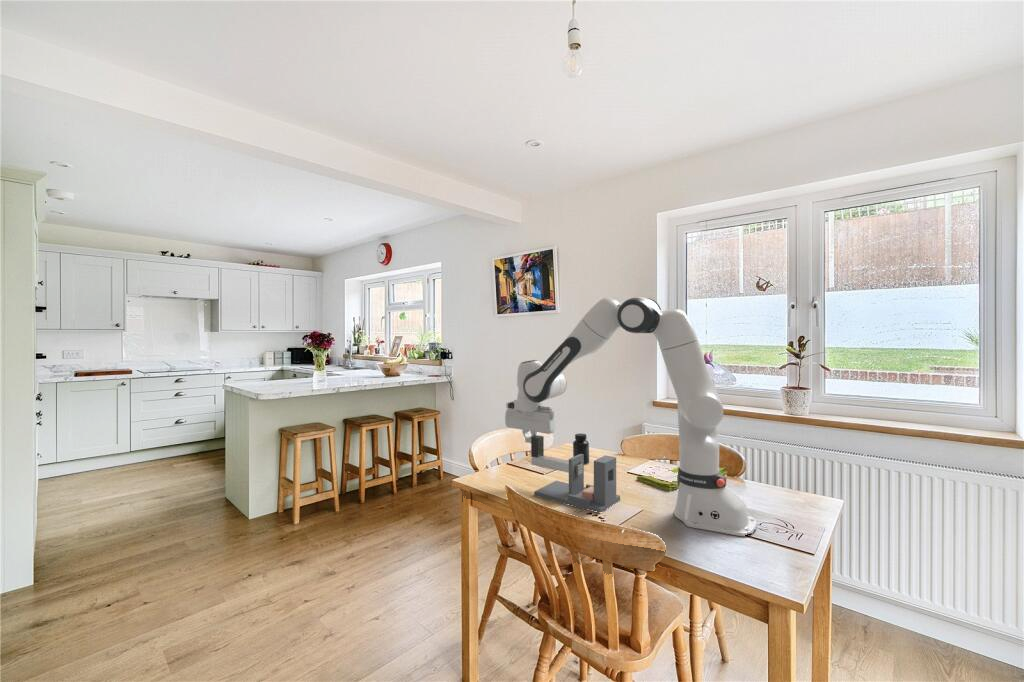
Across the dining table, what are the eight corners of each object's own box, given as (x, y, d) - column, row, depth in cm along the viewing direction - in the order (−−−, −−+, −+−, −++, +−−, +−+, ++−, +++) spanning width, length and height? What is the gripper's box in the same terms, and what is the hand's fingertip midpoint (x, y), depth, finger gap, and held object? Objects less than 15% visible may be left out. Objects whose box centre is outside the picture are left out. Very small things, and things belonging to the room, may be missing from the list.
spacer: (591, 486, 151) (591, 493, 151) (581, 491, 147) (581, 498, 147) (601, 488, 149) (601, 496, 149) (592, 493, 144) (592, 501, 144)
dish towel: (635, 481, 169) (635, 473, 169) (694, 465, 188) (694, 458, 188) (669, 493, 156) (669, 484, 156) (729, 475, 175) (729, 467, 175)
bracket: (620, 500, 149) (620, 455, 149) (600, 513, 138) (600, 465, 138) (556, 484, 165) (556, 443, 164) (534, 495, 153) (534, 452, 153)
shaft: (582, 472, 152) (582, 443, 151) (577, 475, 149) (577, 445, 149) (536, 462, 163) (536, 435, 163) (531, 464, 161) (531, 437, 160)
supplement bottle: (584, 459, 197) (583, 432, 196) (592, 463, 190) (592, 435, 190) (570, 461, 194) (570, 433, 194) (577, 465, 188) (577, 437, 187)
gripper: (558, 406, 159) (558, 445, 159) (512, 401, 171) (513, 437, 172) (548, 408, 154) (548, 448, 154) (502, 403, 166) (502, 440, 167)
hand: (529, 442), depth 163 cm, fingers closed
